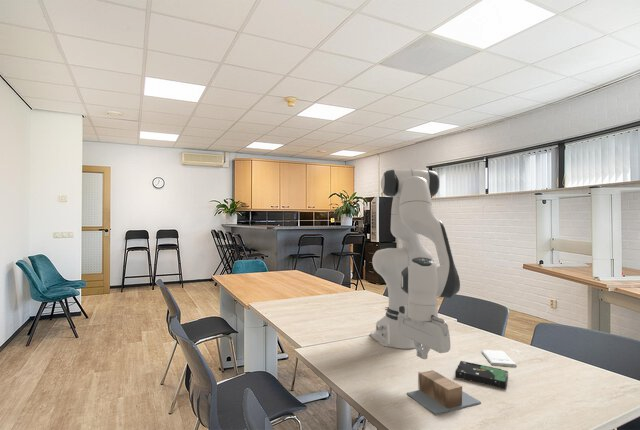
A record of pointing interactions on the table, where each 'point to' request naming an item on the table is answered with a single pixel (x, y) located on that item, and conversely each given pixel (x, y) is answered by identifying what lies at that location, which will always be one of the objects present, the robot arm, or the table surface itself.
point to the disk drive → (482, 374)
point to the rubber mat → (439, 408)
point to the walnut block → (440, 388)
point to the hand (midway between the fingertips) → (421, 357)
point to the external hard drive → (498, 358)
